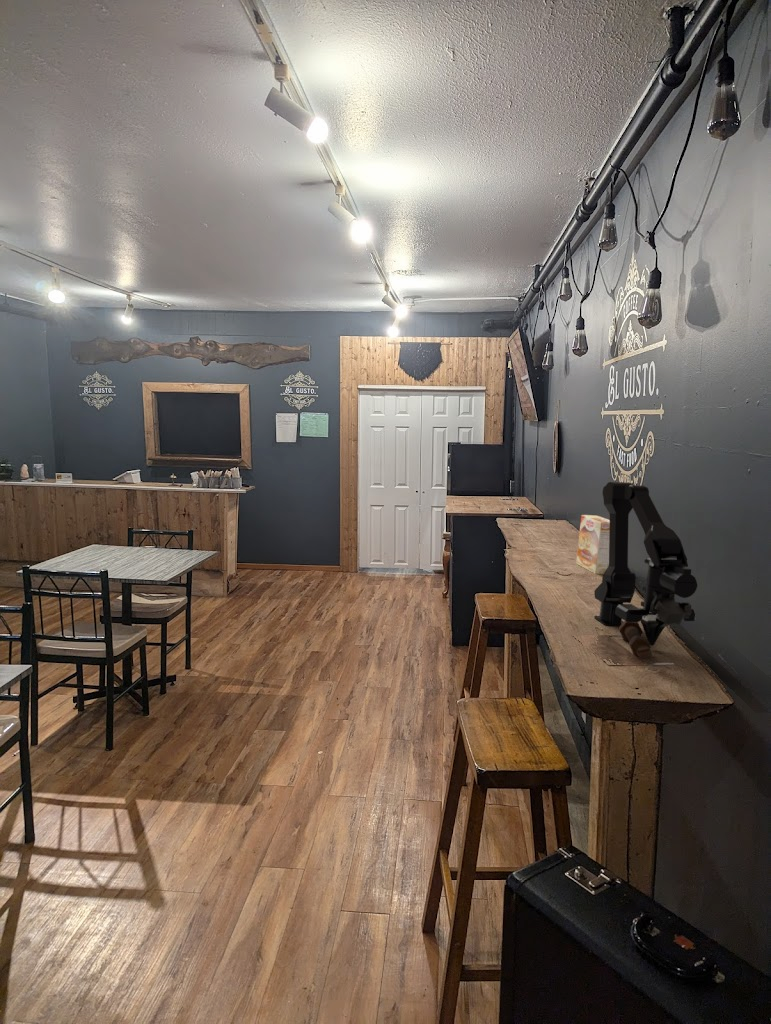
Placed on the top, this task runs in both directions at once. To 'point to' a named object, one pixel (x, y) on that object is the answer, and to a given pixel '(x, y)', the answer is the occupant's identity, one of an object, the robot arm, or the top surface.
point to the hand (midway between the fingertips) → (651, 645)
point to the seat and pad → (613, 650)
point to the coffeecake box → (593, 544)
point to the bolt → (635, 638)
